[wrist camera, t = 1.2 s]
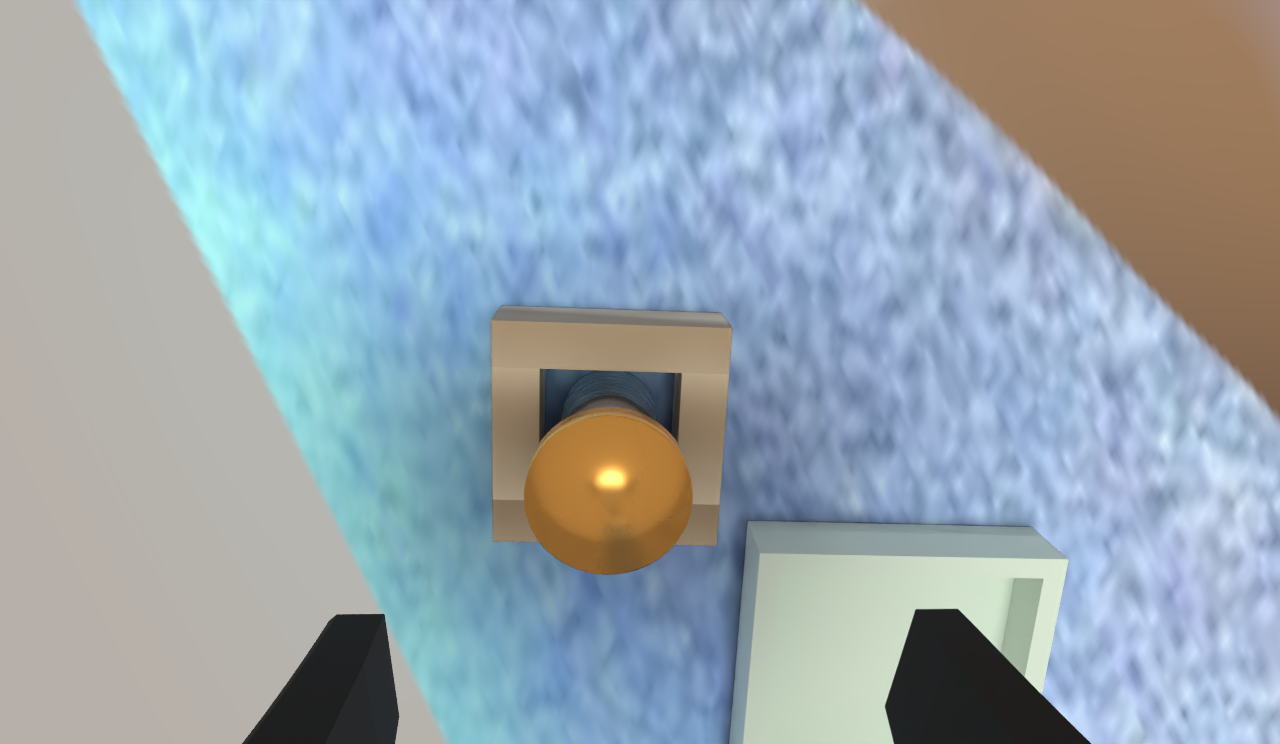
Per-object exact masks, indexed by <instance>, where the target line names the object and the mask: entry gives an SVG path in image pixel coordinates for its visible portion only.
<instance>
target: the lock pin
mask: <svg viewBox="0 0 1280 744" xmlns="http://www.w3.org/2000/svg"><path fill="white" fill-rule="evenodd" d="M692 502H693V489H692V483H691V478H690V474H689V470H688V466H687V462H686V459H685V456H684V454H683V452H682V450H681V447H680V446H679V444H678V443H677V441H676V440H675V438H674V437H673V436H672V435H671V434H670V432H669V431H668V430H667V429H665V428H664V427H663V426H662V425H661V424H660V423H658V422H657V419H656V413H655V407H654V402H653V399H652V397H651V394H650V392H649V391H648V389H647V388H646V386H645V385H644V384H643V383H642V382H641V381H640V380H639V379H637V378H636V377H634V376H633V375H631V374H629V373H626V372H624V371H600V370H598V371H594V372H591V373H589V374H587V375H585V376H584V377H582V378H581V379H579V380H578V381H577V382H576V383H575V384H574V385H573V386H572V388H571V389H570V390H569V392H568V394H567V396H566V399H565V402H564V406H563V411H562V417H561V421H560V422H559V423H558V424H557V425H555V426H554V427H553V428H552V429H551V430H550V431H549V432H548V433H547V434H546V435H545V436H544V437H543V439H542V440H541V441H540V443H539V444H538V446H537V448H536V450H535V452H534V454H533V457H532V459H531V462H530V466H529V469H528V473H527V477H526V482H525V486H524V507H525V512H526V517H527V520H528V522H529V525H530V527H531V529H532V531H533V533H534V535H535V537H536V538H537V539H538V541H539V542H540V543H541V545H542V546H543V547H544V548H545V549H546V550H547V551H548V552H549V553H550V554H552V555H553V556H554V557H555V558H557V559H558V560H560V561H561V562H563V563H565V564H567V565H569V566H571V567H573V568H575V569H578V570H581V571H584V572H589V573H594V574H605V575H607V574H621V573H627V572H631V571H634V570H638V569H640V568H643V567H645V566H647V565H649V564H651V563H653V562H654V561H656V560H658V559H659V558H660V557H662V556H663V555H664V554H666V553H667V552H668V551H669V550H670V549H671V548H672V547H673V546H674V545H675V543H676V542H677V541H678V540H679V538H680V537H681V535H682V533H683V532H684V530H685V528H686V525H687V523H688V521H689V517H690V514H691V510H692Z"/></svg>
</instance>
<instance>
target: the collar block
mask: <svg viewBox="0 0 1280 744" xmlns="http://www.w3.org/2000/svg"><path fill="white" fill-rule="evenodd" d="M731 341H732V327H731V325H730V324H729V323H728V321H727V320H726V318H725V317H724V315H723V314H722V313H709V312H679V311H650V310H620V309H591V308H561V307H532V306H501V307H500V309H499V310H498V311H497V313H496V314H495V316H494V317H493V319H492V320H491V355H492V491H493V541H512V542H539V541H538V539H537V538H536V537H535V535H534V533H533V531H532V529H531V527H530V525H529V522H528V520H527V517H526V512H525V507H524V486H525V482H526V477H527V473H528V469H529V466H530V462H531V459H532V457H533V454H534V452H535V450H536V448H537V446H538V444H539V443H540V441H541V440H542V439H543V437H544V436H545V372H546V369H567V370H600V371H633V372H666V373H675V379H674V397H673V415H672V433H671V435H672V436H673V437H674V438H675V440H676V441H677V443H678V444H679V446H680V447H681V450H682V452H683V454H684V456H685V459H686V462H687V466H688V470H689V474H690V478H691V483H692V489H693V502H692V510H691V514H690V517H689V521H688V523H687V525H686V528H685V530H684V532H683V533H682V535H681V537H680V538H679V540H678V541H677V542H676V543H675V545H707V546H717V533H718V520H719V506H720V492H721V478H722V465H723V451H724V437H725V424H726V410H727V396H728V383H729V369H730V355H731Z"/></svg>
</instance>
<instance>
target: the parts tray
mask: <svg viewBox="0 0 1280 744" xmlns="http://www.w3.org/2000/svg"><path fill="white" fill-rule="evenodd" d="M1068 560H1069V559H1068V558H1066V557H1065V556H1064V555H1063V554H1062V553H1061V552H1060V551H1059V550H1057V549H1056V548H1055V547H1054V546H1053V545H1052V544H1051V543H1049V542H1048V541H1047V540H1046V539H1045V538H1044V537H1043V536H1042V535H1040V534H1039V533H1038V532H1037V531H1036V530H1035V529H1034V528H1033V527H1011V526H965V525H920V524H874V523H829V522H783V521H748V525H747V537H746V548H745V560H744V572H743V584H742V596H741V608H740V620H739V632H738V644H737V656H736V668H735V680H734V692H733V704H732V716H731V728H730V740H729V744H894V742H893V738H892V734H891V730H890V726H889V722H888V718H887V714H886V710H885V704H886V701H887V697H888V694H889V691H890V688H891V685H892V682H893V679H894V675H895V672H896V669H897V666H898V663H899V660H900V657H901V653H902V650H903V647H904V644H905V641H906V638H907V635H908V631H909V628H910V625H911V622H912V619H913V616H914V613H915V609H959V610H960V611H961V612H962V613H963V614H964V615H965V616H966V617H967V618H968V619H969V620H970V621H971V622H972V623H973V624H974V625H975V626H976V627H977V628H978V629H979V630H980V631H981V633H982V634H983V635H984V636H985V637H986V638H987V639H988V640H989V641H990V642H991V643H992V644H993V645H994V646H995V647H996V648H997V649H998V650H999V651H1000V652H1001V653H1002V654H1003V655H1004V656H1005V657H1006V658H1007V659H1008V660H1009V662H1010V663H1011V664H1012V665H1013V666H1014V667H1015V668H1016V669H1017V670H1018V671H1019V672H1020V673H1021V674H1022V675H1023V676H1024V677H1025V678H1026V679H1027V680H1028V681H1029V682H1030V683H1031V684H1032V685H1033V686H1034V687H1035V688H1036V689H1037V690H1038V691H1039V692H1040V693H1041V694H1042V690H1043V685H1044V680H1045V675H1046V670H1047V665H1048V660H1049V655H1050V650H1051V645H1052V640H1053V635H1054V630H1055V625H1056V620H1057V615H1058V610H1059V605H1060V600H1061V595H1062V590H1063V585H1064V580H1065V575H1066V570H1067V565H1068Z"/></svg>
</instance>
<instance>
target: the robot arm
mask: <svg viewBox="0 0 1280 744" xmlns="http://www.w3.org/2000/svg"><path fill="white" fill-rule="evenodd" d="M885 710H886V714H887V718H888V722H889V726H890V730H891V734H892V738H893V742H894V744H1091V743H1090V742H1089V741H1088V740H1087V739H1086V738H1085V737H1084V736H1083V735H1082V734H1081V733H1080V732H1079V731H1078V730H1077V729H1076V728H1075V727H1074V726H1073V725H1072V724H1071V723H1070V722H1069V721H1068V720H1067V719H1066V718H1065V717H1064V716H1063V715H1062V714H1061V713H1060V712H1059V711H1058V710H1057V709H1056V708H1055V707H1054V706H1053V705H1052V704H1051V703H1050V702H1049V701H1048V700H1047V699H1046V698H1045V697H1044V696H1043V695H1042V694H1041V693H1040V692H1039V691H1038V690H1037V689H1036V688H1035V687H1034V686H1033V685H1032V684H1031V683H1030V682H1029V681H1028V680H1027V679H1026V678H1025V677H1024V676H1023V675H1022V674H1021V673H1020V672H1019V671H1018V670H1017V669H1016V668H1015V667H1014V666H1013V665H1012V664H1011V663H1010V662H1009V660H1008V659H1007V658H1006V657H1005V656H1004V655H1003V654H1002V653H1001V652H1000V651H999V650H998V649H997V648H996V647H995V646H994V645H993V644H992V643H991V642H990V641H989V640H988V639H987V638H986V637H985V636H984V635H983V634H982V633H981V631H980V630H979V629H978V628H977V627H976V626H975V625H974V624H973V623H972V622H971V621H970V620H969V619H968V618H967V617H966V616H965V615H964V614H963V613H962V612H961V611H960V610H959V609H915V613H914V616H913V619H912V622H911V625H910V628H909V631H908V635H907V638H906V641H905V644H904V647H903V650H902V653H901V657H900V660H899V663H898V666H897V669H896V672H895V675H894V679H893V682H892V685H891V688H890V691H889V694H888V697H887V701H886V704H885ZM398 720H399V712H398V705H397V698H396V691H395V684H394V677H393V671H392V664H391V656H390V649H389V642H388V636H387V629H386V622H385V615H384V614H351V615H350V614H345V615H344V614H343V615H336V616H335V617H333V618H332V619H331V620H330V621H329V622H328V623H327V625H326V627H325V628H324V630H323V631H322V633H321V634H320V636H319V637H318V639H317V640H316V642H315V643H314V645H313V646H312V648H311V649H310V651H309V652H308V654H307V655H306V657H305V658H304V660H303V661H302V663H301V664H300V666H299V667H298V669H297V670H296V671H295V673H294V674H293V676H292V677H291V679H290V680H289V681H288V683H287V684H286V685H285V687H284V688H283V690H282V691H281V692H280V694H279V695H278V697H277V698H276V699H275V701H274V702H273V703H272V705H271V706H270V708H269V709H268V710H267V712H266V713H265V714H264V716H263V717H262V718H261V720H260V721H259V722H258V724H257V725H256V726H255V728H254V729H253V730H252V731H251V733H250V735H248V737H247V738H246V739H245V741H244V742H243V743H242V744H395V740H396V733H397V727H398Z"/></svg>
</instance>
